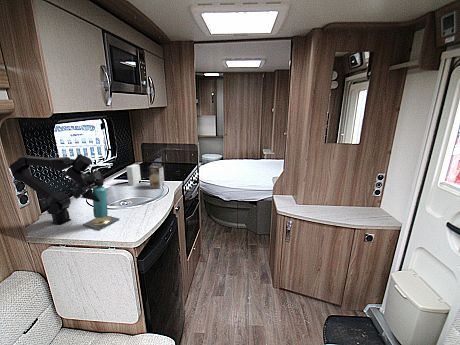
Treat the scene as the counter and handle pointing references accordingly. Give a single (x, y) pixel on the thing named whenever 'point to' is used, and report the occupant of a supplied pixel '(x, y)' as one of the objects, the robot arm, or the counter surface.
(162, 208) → the counter surface
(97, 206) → the beverage bottle
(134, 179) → the skincare box
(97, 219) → the coupling plate
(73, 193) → the robot arm
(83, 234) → the counter surface
